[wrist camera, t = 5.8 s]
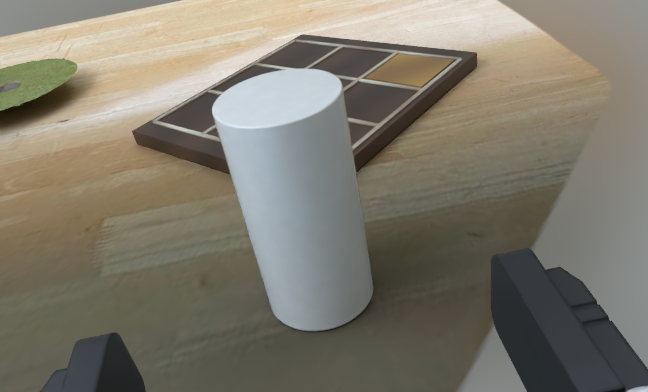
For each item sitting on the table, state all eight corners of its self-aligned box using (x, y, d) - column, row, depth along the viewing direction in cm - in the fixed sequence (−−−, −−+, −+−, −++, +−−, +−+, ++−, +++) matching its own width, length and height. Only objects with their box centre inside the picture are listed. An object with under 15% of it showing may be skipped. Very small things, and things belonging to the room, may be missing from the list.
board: (477, 65, 40) (477, 50, 39) (320, 203, 29) (316, 185, 28) (304, 45, 49) (301, 33, 48) (136, 144, 38) (130, 129, 38)
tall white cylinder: (394, 276, 24) (369, 76, 19) (330, 348, 21) (282, 138, 16) (313, 245, 26) (272, 62, 21) (248, 306, 24) (184, 113, 19)
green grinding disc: (82, 67, 54) (73, 47, 53) (89, 108, 45) (79, 85, 44) (-44, 103, 51) (-55, 83, 50) (-63, 154, 42) (-77, 131, 41)
